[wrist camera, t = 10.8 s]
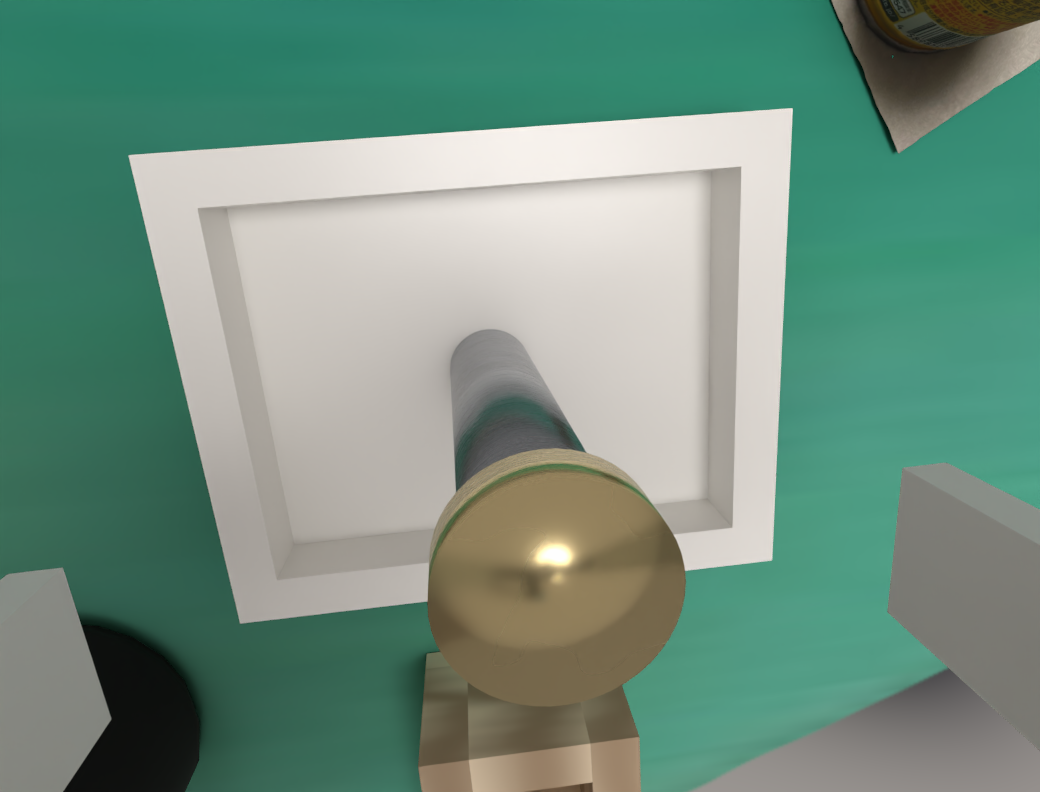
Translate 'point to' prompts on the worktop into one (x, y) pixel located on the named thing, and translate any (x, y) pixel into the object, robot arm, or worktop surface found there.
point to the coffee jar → (139, 721)
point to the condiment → (937, 54)
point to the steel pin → (542, 545)
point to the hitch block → (522, 741)
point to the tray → (470, 330)
